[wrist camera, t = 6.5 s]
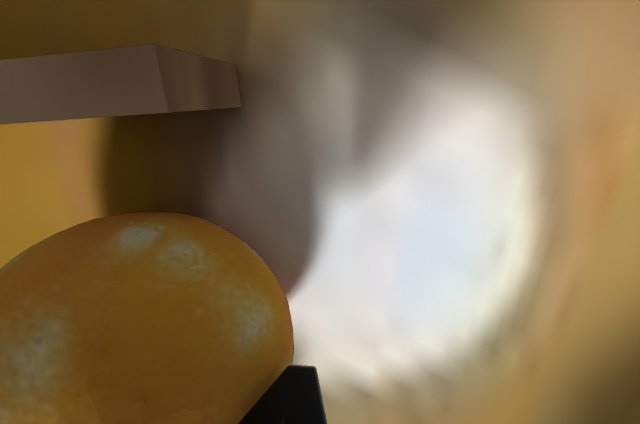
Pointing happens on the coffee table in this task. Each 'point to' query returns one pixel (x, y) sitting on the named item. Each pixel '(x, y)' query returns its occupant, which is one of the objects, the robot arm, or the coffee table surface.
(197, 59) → the tray
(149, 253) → the fruit
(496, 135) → the coffee table surface
